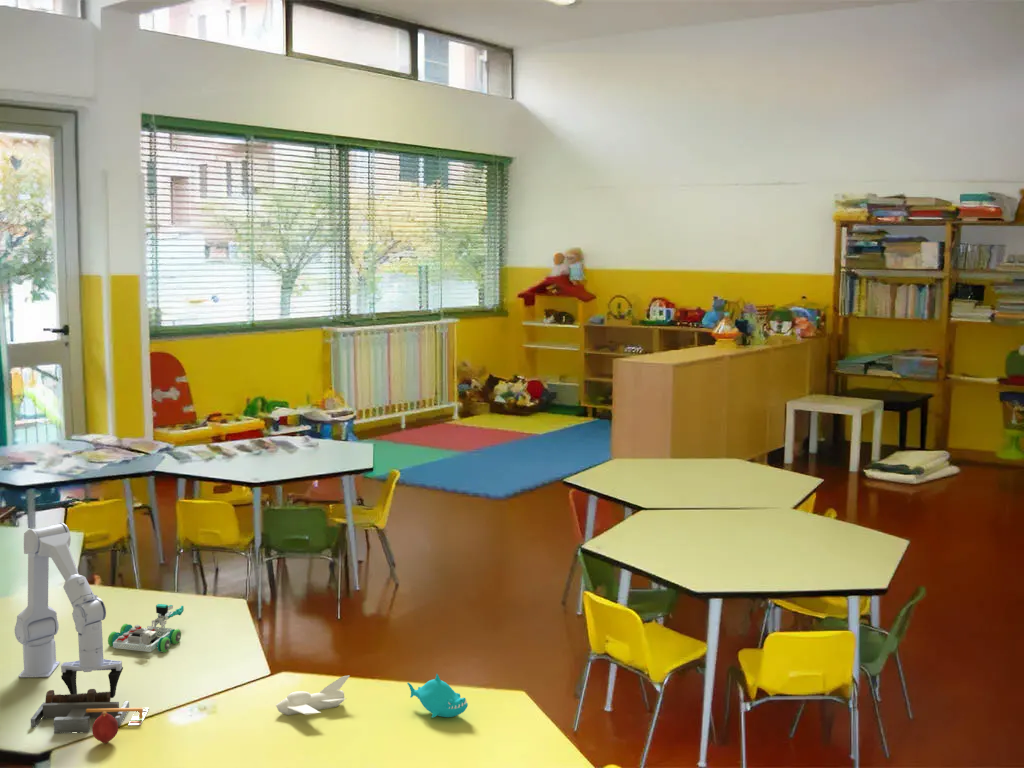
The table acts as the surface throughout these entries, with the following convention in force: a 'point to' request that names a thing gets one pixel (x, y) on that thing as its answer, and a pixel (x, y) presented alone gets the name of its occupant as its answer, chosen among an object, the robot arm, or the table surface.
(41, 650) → the robot arm
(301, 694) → the airplane model
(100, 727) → the onion
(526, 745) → the table surface
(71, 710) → the grey bar with rod
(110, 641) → the robot kit
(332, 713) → the table surface
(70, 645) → the table surface
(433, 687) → the toy shark
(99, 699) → the bolt
